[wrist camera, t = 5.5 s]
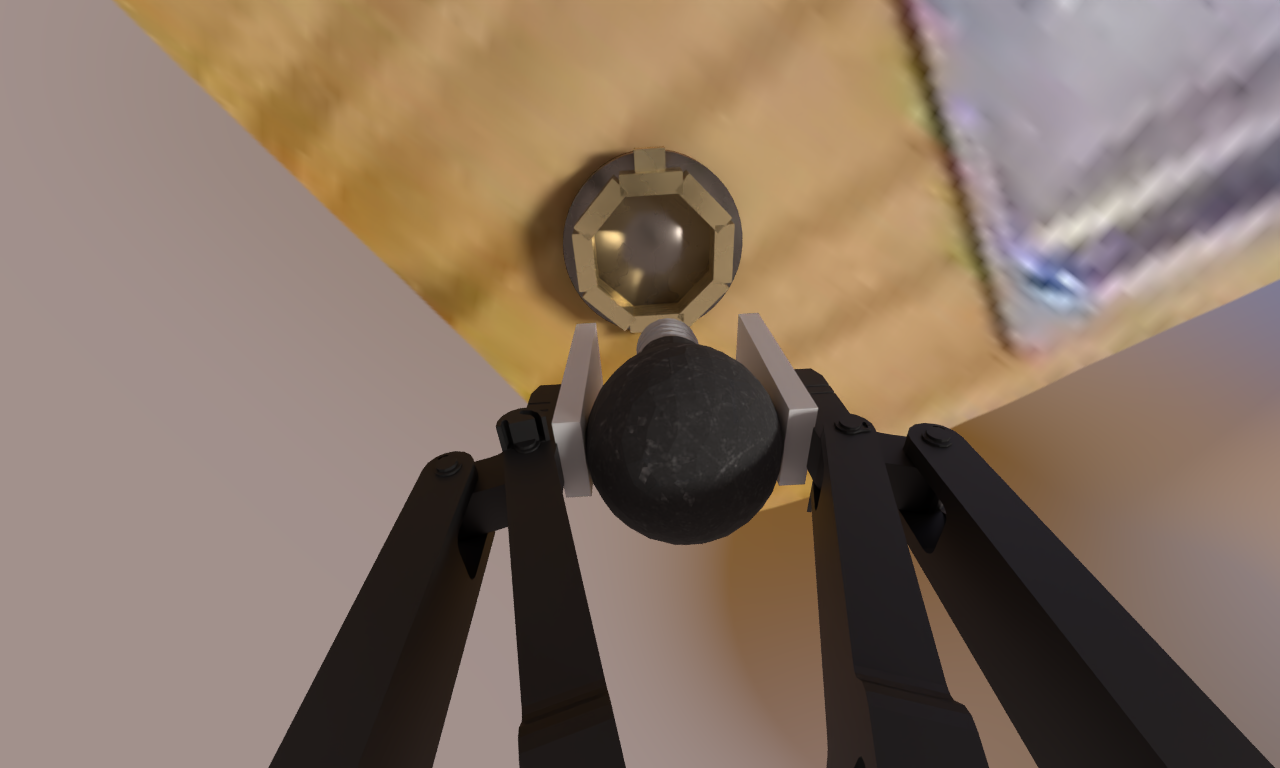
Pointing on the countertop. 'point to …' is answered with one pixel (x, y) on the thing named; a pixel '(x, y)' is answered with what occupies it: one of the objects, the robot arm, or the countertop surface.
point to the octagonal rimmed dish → (652, 239)
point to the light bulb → (683, 439)
